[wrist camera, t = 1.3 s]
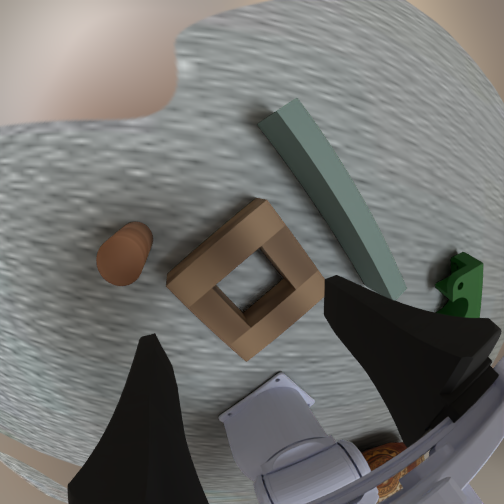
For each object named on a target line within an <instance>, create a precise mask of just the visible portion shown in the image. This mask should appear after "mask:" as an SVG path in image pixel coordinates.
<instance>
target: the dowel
mask: <svg viewBox="0 0 504 504" xmlns="http://www.w3.org/2000/svg"><path fill="white" fill-rule="evenodd" d="M152 244H153V235H152V232H151V230H150V229H149V228H148V227H147V226H146V225H145V224H143V223H141V222H130V223H128V224H126V225H125V226H124V227H123V228H121V229H120V230H119V231H118V232H116V233H115V234H114V235H113V236H112V237H110V238H109V239H108V240H107V241H106V242H105V243H103V244H102V246H101V247H100V249H99V251H98V253H97V260H96V261H97V267H98V270H99V272H100V274H101V276H102V277H103V278H104V279H105V280H106V281H108V282H109V283H111V284H113V285H116V286H126V285H129V284H132V283H133V282H135V281H136V280H137V279H138V278H139V276H140V274H141V272H142V270H143V267H144V264H145V262H146V259H147V257H148V254H149V252H150V249H151V247H152Z"/></svg>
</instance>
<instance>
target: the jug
mask: <svg viewBox="0 0 504 504" xmlns="http://www.w3.org/2000/svg"><path fill="white" fill-rule="evenodd" d="M406 449H407V447H406V446H405V444H404V443H403V442H398V443H387V444H384V445H381V446H377V447H374V448H371V449H368V450H365V451H362V452H361V454H362V455H363V457H364V458H365V460H366V462H367V464H368V466H369V468H370V470H371V471H373V470H375V469H376V468H378V467H380V466H381V465H383V464H384V463H386V462H388V461H389V460H391V459H392V458H394V457H395V456H397V455H398V454H400V453H401V452H403V451H404V450H406ZM423 461H425V460H424V455H423V456H421V457H420V458H419V459H417V460H416V461H414V462H413V463H412V464H410V465H409V466H408V467H406V468H405V469H403V470H402V471H400V472H399V473H397V474H396V475H394V476H393V477H391V478H390V479H388V480H387V481H385V482H383V483H382V484H380V485H378V486H377V489H378V495H379V499H378V501H377V503H376V504H378V503H379V502H381V501H383V500H384V499H386V498H388V497H389V496H391V495H393V494H394V493H396V492H397V491H399V490H400V489H402V488H403V487H402V485H401V484H400V482H399V479H400V478H401V477H403V476H404V475H406V474H407V473H409V472H410V471H411V470H413V469H414V468H415V467H417V466H418V465H419V464H421V463H422V462H423Z"/></svg>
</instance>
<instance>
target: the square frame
mask: <svg viewBox="0 0 504 504" xmlns="http://www.w3.org/2000/svg"><path fill="white" fill-rule="evenodd" d="M258 248H260V249H261V251H262V252H263V253H264V254H265V256H266V257H267V258H268V259H269V261H270V262H271V263H272V264H273V266H274V267H275V268H276V269H277V270H278V272H279V273H280V274H281V275H282V277H283V278H284V279H282V280H281V281H280V282H279V283H278V284H277V285H275V286H274V287H273V288H272V289H271V290H270V291H268V292H267V293H266V294H265V295H264V296H263V297H261V298H260V299H259V300H258V301H257V302H255V303H254V304H253V305H252V306H251V307H250V308H248V309H247V310H246V311H245V312H244V313H242V311H241V310H240V309H239V308H238V307H237V306H236V305H235V304H234V303H233V302H232V301H231V300H230V299H229V298H228V297H227V296H226V295H225V294H224V293H223V292H222V291H221V290H220V288H219V287H218V286H217V285H216V284H217V283H218V282H220V281H221V280H222V279H223V278H224V277H225V276H227V275H228V274H229V273H230V272H231V271H232V270H234V269H235V268H236V267H237V266H238V265H239V264H241V263H242V262H243V261H244V260H245V259H247V258H248V257H249V256H250V255H251V254H252V253H254V252H255V251H256V250H257V249H258ZM324 286H325V279H324V277H323V276H322V275H321V273H320V272H319V270H318V269H317V268H316V266H315V265H314V263H313V262H312V260H311V259H310V258H309V256H308V255H307V253H306V252H305V251H304V249H303V248H302V247H301V245H300V244H299V242H298V241H297V240H296V238H295V237H294V235H293V234H292V233H291V231H290V230H289V229H288V227H287V226H286V225H285V223H284V222H283V221H282V219H281V218H280V216H279V215H278V214H277V212H276V211H275V210H274V208H273V207H272V206H271V204H270V203H269V202H268V200H265V199H260V198H255V199H254V200H253V201H252V202H251V203H249V204H248V205H247V206H246V207H244V208H243V209H242V210H241V211H240V212H238V213H237V214H236V215H235V216H234V217H232V218H231V219H230V220H229V221H228V222H227V223H225V224H224V225H223V226H222V227H221V228H219V229H218V230H217V231H216V232H215V233H214V234H212V235H211V236H210V237H209V238H208V239H207V240H205V241H204V242H203V243H202V244H201V245H200V246H198V247H197V248H196V249H195V250H194V251H193V252H192V253H190V254H189V255H188V256H187V257H186V258H185V259H184V260H182V261H181V262H180V263H179V264H178V265H177V266H176V267H174V268H173V269H172V270H171V271H170V272H169V273H168V274H167V281H166V287H167V288H168V289H169V290H170V291H171V292H172V293H173V294H174V295H175V296H176V297H177V298H178V299H179V300H180V301H181V302H182V303H183V304H184V305H185V306H186V307H187V308H188V309H189V310H190V311H191V312H192V313H193V314H194V315H196V316H197V317H198V318H199V319H200V320H201V321H202V322H203V323H204V324H205V325H206V326H207V327H208V328H209V329H210V330H211V331H213V332H214V333H215V334H216V335H217V336H218V337H219V338H220V339H221V340H222V341H223V342H225V343H226V344H227V345H228V346H229V347H230V348H231V349H232V350H233V351H235V352H236V353H237V354H238V355H239V356H240V357H241V358H243V359H244V360H245V361H246V362H247V361H248V360H249V359H251V358H252V357H253V356H255V355H256V354H257V353H258V352H260V351H261V350H262V349H263V348H265V347H266V346H267V345H268V344H270V343H271V342H272V341H273V340H274V339H276V338H277V337H278V336H279V335H280V334H282V333H283V332H284V331H285V330H286V329H288V328H289V327H290V326H291V325H292V324H294V323H295V322H296V321H297V320H298V319H299V318H301V317H302V316H303V315H304V314H305V313H306V312H307V311H309V310H310V309H311V308H312V307H313V306H314V305H315V304H316V303H318V302H319V301H320V300H321V299H322V298H323V297H324Z"/></svg>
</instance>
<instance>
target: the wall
mask: <svg viewBox="0 0 504 504" xmlns="http://www.w3.org/2000/svg"><path fill="white" fill-rule="evenodd" d="M257 125H258V126H259V128H260V129H261V130H262V132H263V133H264V134H265V135H266V137H267V138H268V139H269V141H270V142H271V143H272V145H273V146H274V147H275V149H276V150H277V151H278V153H279V154H280V155H281V157H282V158H283V160H284V161H285V162H286V164H287V165H288V166H289V168H290V169H291V171H292V172H293V173H294V175H295V176H296V178H297V179H298V181H299V182H300V183H301V185H302V186H303V188H304V189H305V191H306V192H307V194H308V195H309V196H310V198H311V199H312V201H313V202H314V204H315V205H316V207H317V208H318V210H319V211H320V213H321V214H322V216H323V217H324V219H325V221H326V222H327V224H328V225H329V227H330V228H331V230H332V231H333V233H334V235H335V236H336V238H337V239H338V241H339V243H340V244H341V246H342V247H343V249H344V251H345V252H346V254H347V255H348V257H349V259H350V260H351V262H352V264H353V265H354V267H355V269H356V271H357V272H358V274H359V276H360V277H361V279H362V281H363V282H364V284H365V286H367V287H369V288H370V289H372V290H374V291H375V292H377V293H379V294H381V295H382V296H385V297H387V298H390V299H392V300H395V301H396V300H397V299H398V298H399V296H400V295H401V294H402V293H403V292H404V291H405V290H406V289H407V287H406V285H405V282H404V280H403V278H402V276H401V273H400V271H399V269H398V267H397V264H396V262H395V260H394V258H393V256H392V254H391V252H390V249H389V247H388V245H387V243H386V241H385V239H384V237H383V235H382V233H381V231H380V229H379V227H378V225H377V223H376V221H375V220H374V218H373V216H372V214H371V212H370V210H369V208H368V207H367V205H366V203H365V201H364V199H363V198H362V196H361V194H360V192H359V191H358V189H357V187H356V185H355V184H354V182H353V180H352V179H351V177H350V175H349V174H348V172H347V170H346V169H345V167H344V165H343V164H342V162H341V161H340V159H339V157H338V156H337V154H336V153H335V151H334V150H333V148H332V146H331V145H330V143H329V142H328V140H327V139H326V137H325V136H324V134H323V133H322V131H321V130H320V129H319V127H318V126H317V124H316V123H315V121H314V120H313V119H312V117H311V116H310V114H309V113H308V112H307V110H306V109H305V107H304V106H303V105H302V103H301V102H300V101H299V99H298V98H296V99H294V100H292V101H291V102H289V103H288V104H286V105H285V106H283V107H282V108H280V109H279V110H277V111H276V112H274V113H273V114H271V115H270V116H268V117H267V118H265V119H264V120H263V121H261V122H260V123H258V124H257Z"/></svg>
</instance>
